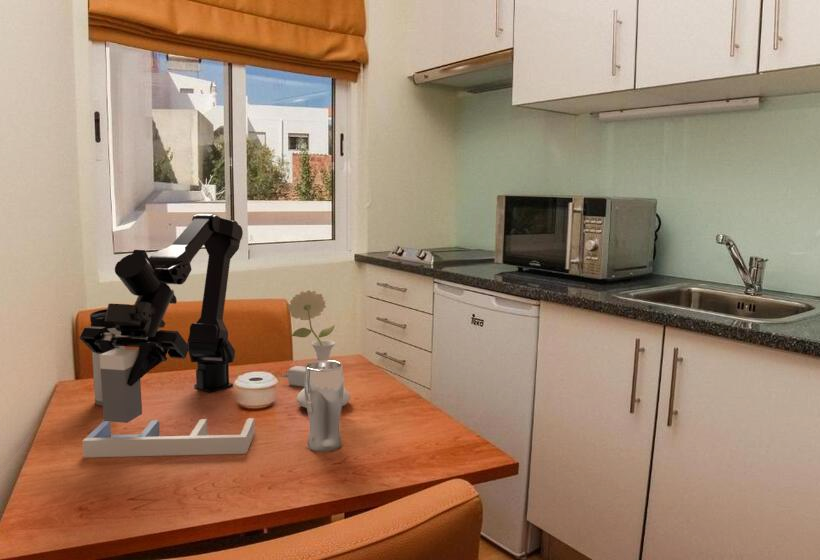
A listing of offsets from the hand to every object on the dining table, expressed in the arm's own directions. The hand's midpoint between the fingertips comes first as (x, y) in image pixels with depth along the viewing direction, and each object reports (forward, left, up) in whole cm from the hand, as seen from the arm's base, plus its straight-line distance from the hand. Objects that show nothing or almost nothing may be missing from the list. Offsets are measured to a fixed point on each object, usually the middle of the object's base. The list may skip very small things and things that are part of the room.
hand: (116, 384), depth 110 cm
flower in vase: (-38, +11, -12) cm, 41 cm away
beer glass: (-24, +27, -12) cm, 38 cm away
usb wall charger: (-45, -5, -12) cm, 47 cm away
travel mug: (-11, -25, -12) cm, 30 cm away
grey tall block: (-1, -1, -7) cm, 7 cm away
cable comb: (-7, +6, -12) cm, 15 cm away
